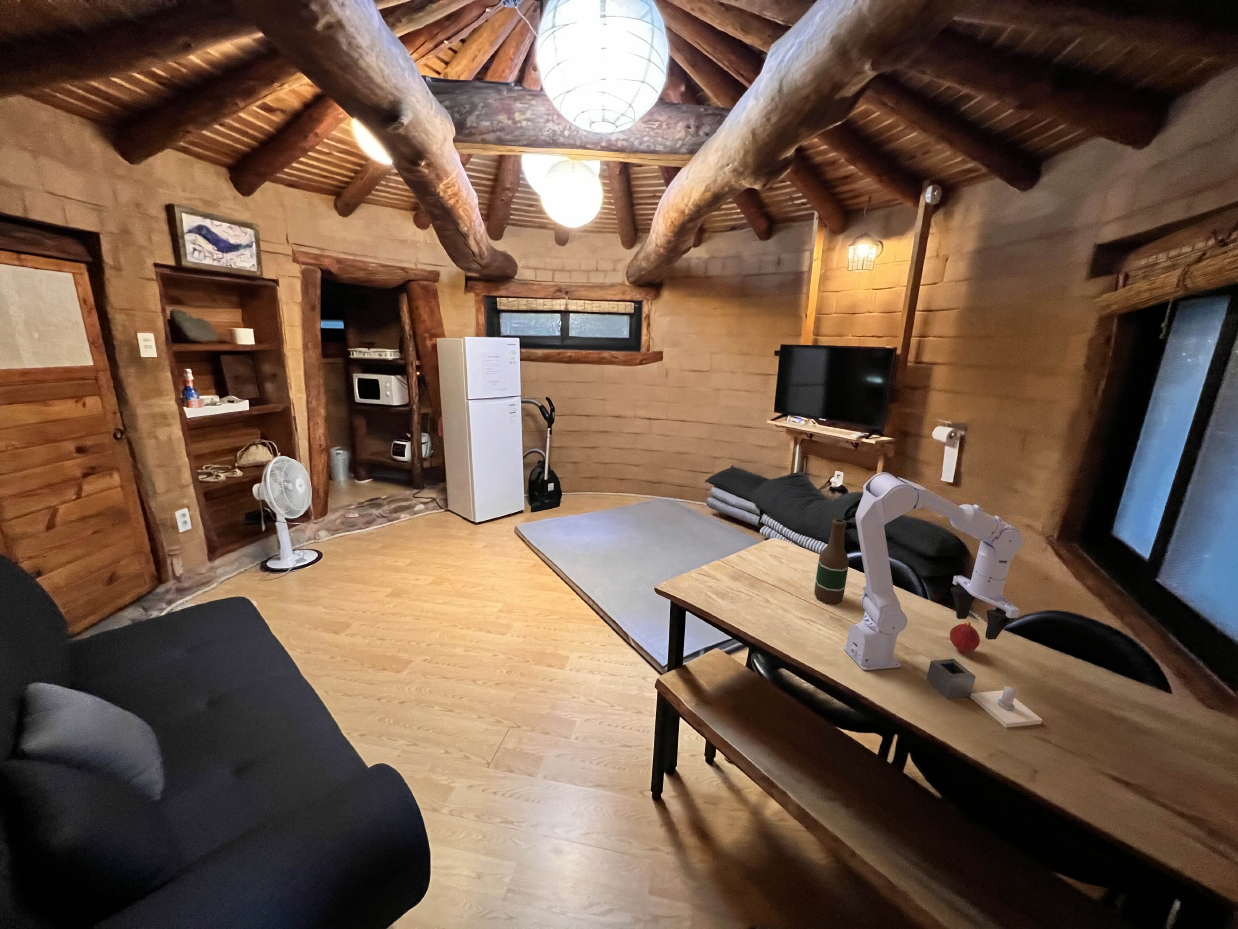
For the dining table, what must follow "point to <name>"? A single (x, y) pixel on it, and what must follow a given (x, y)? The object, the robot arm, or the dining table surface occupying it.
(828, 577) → the beer bottle
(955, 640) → the onion
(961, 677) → the collar
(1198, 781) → the dining table surface
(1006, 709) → the post block
